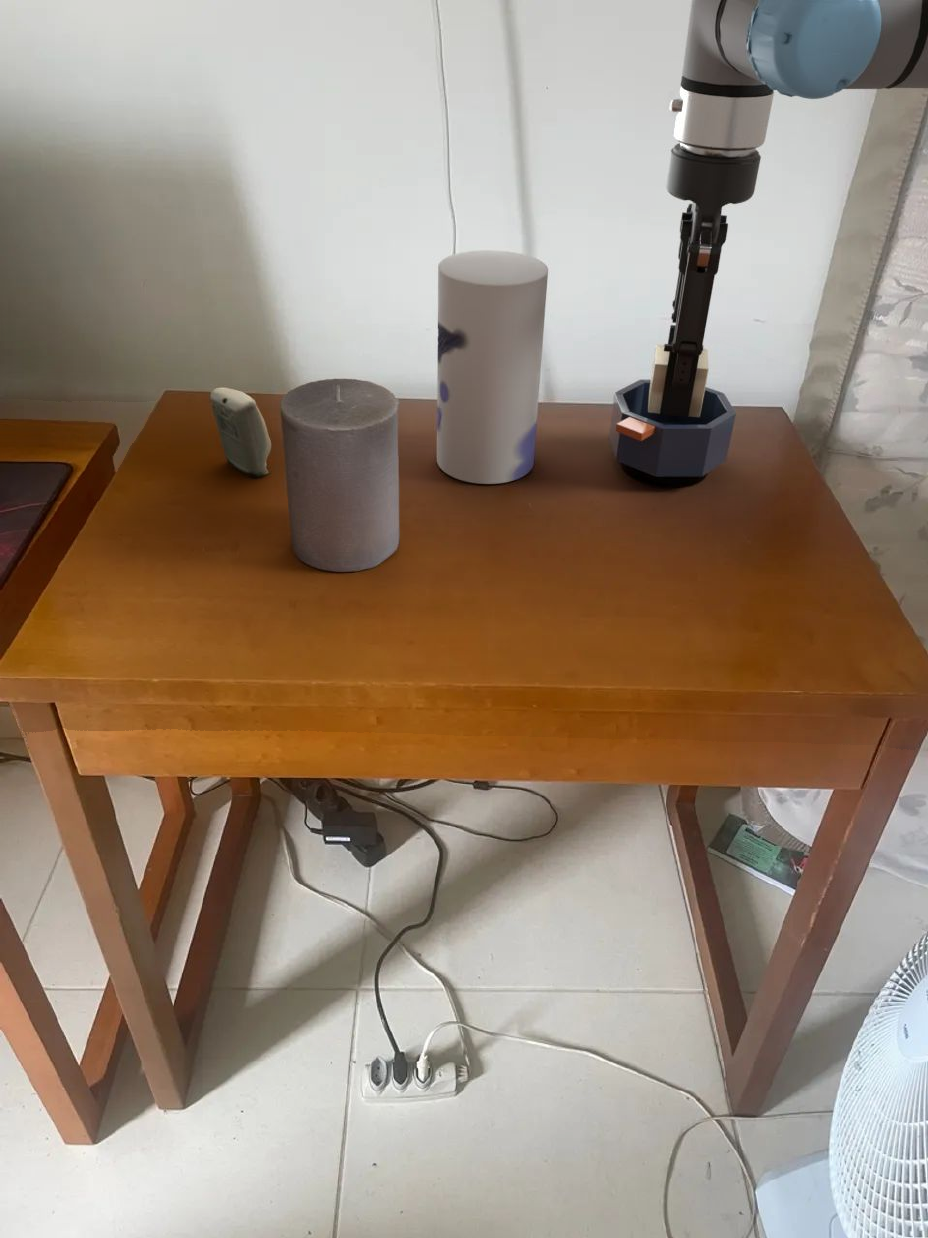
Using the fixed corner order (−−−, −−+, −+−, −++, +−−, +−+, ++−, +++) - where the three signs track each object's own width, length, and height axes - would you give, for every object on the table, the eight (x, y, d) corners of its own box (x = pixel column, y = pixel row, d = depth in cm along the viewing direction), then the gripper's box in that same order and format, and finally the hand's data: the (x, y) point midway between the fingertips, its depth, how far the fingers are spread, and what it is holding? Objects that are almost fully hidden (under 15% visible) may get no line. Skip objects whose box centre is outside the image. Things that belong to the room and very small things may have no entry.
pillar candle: (286, 521, 91) (271, 367, 82) (390, 510, 93) (386, 358, 84) (298, 580, 83) (283, 418, 74) (411, 566, 86) (409, 407, 76)
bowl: (650, 415, 106) (657, 370, 103) (742, 449, 101) (753, 402, 97) (576, 457, 98) (581, 409, 95) (671, 497, 93) (680, 447, 89)
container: (421, 449, 103) (421, 254, 91) (506, 433, 106) (516, 243, 94) (461, 493, 96) (466, 288, 84) (551, 474, 99) (568, 275, 87)
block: (698, 396, 99) (707, 348, 96) (699, 417, 95) (708, 368, 92) (648, 391, 99) (655, 343, 96) (647, 412, 95) (655, 363, 92)
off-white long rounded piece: (207, 475, 97) (196, 400, 93) (228, 451, 102) (218, 378, 97) (262, 482, 97) (253, 407, 92) (280, 458, 101) (273, 384, 96)
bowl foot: (725, 470, 101) (728, 457, 100) (668, 497, 96) (670, 484, 95) (659, 438, 106) (661, 425, 105) (601, 462, 102) (603, 449, 101)
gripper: (672, 122, 90) (638, 363, 105) (671, 167, 76) (632, 439, 90) (755, 127, 89) (710, 369, 104) (770, 174, 75) (715, 447, 89)
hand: (674, 401), depth 97 cm, fingers closed on block, 5 cm apart
